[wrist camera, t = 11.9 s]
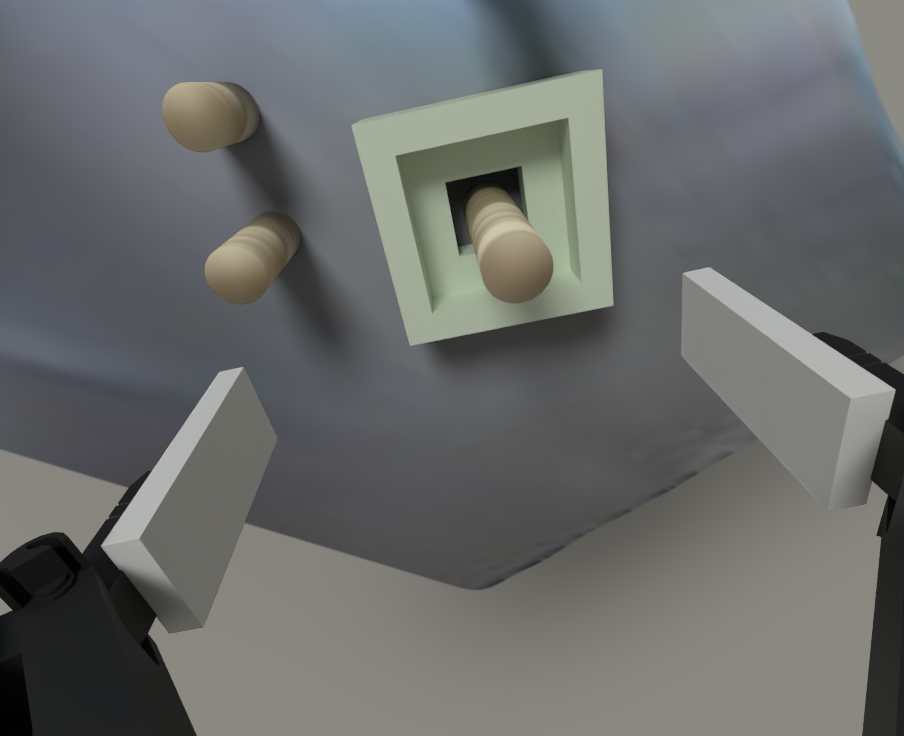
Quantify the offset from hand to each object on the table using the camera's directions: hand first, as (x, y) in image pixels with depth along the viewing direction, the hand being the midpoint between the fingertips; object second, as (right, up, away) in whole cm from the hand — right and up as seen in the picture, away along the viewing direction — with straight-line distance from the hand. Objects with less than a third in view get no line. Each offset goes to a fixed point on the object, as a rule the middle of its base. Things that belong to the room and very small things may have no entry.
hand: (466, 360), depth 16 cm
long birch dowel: (+2, +11, +21) cm, 24 cm away
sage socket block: (+2, +11, +21) cm, 24 cm away
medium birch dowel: (-13, +9, +21) cm, 27 cm away
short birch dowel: (-15, +16, +18) cm, 28 cm away
